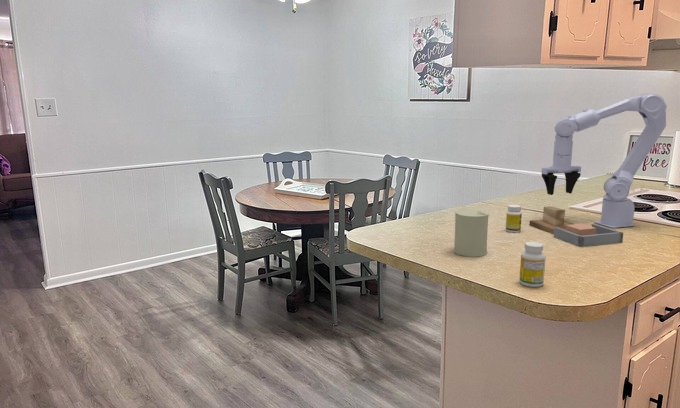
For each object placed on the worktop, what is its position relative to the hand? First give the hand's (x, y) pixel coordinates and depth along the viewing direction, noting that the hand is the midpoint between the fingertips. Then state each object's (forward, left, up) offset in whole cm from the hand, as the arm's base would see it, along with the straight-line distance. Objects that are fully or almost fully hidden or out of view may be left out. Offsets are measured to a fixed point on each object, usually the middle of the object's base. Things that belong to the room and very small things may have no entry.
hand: (559, 193), depth 171 cm
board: (+7, +8, -10) cm, 15 cm away
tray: (+7, +21, -10) cm, 25 cm away
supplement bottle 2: (+46, +48, -10) cm, 67 cm away
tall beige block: (+7, +6, -8) cm, 13 cm away
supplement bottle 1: (+22, +6, -10) cm, 25 cm away
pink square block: (+7, +19, -10) cm, 22 cm away
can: (+47, +22, -10) cm, 53 cm away
